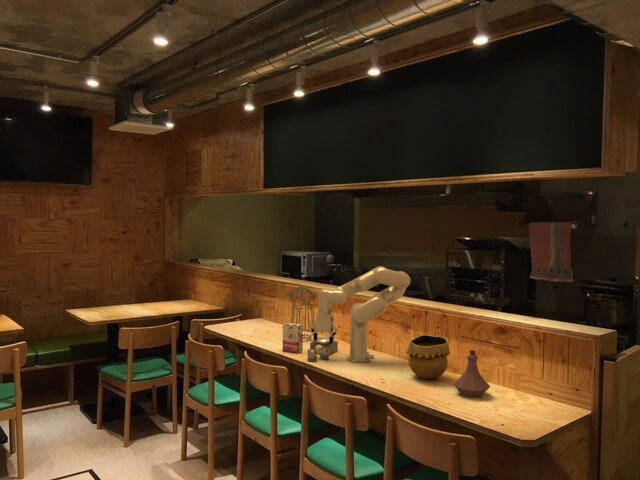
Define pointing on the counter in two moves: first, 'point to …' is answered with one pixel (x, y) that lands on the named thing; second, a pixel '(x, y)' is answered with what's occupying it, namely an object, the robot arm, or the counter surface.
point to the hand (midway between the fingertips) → (323, 342)
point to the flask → (472, 379)
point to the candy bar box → (293, 338)
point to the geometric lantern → (302, 304)
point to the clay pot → (428, 356)
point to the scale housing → (332, 347)
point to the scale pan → (323, 340)
